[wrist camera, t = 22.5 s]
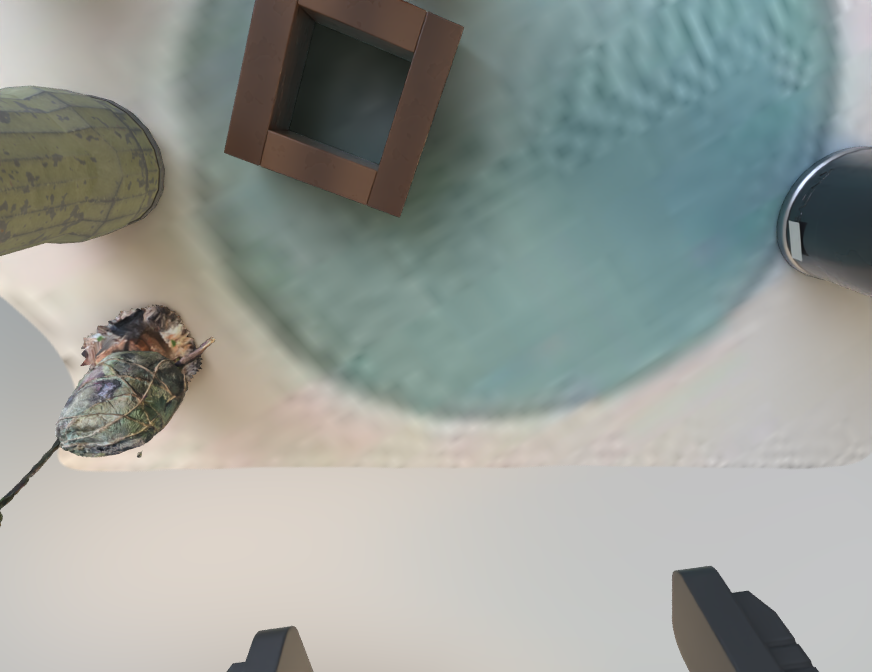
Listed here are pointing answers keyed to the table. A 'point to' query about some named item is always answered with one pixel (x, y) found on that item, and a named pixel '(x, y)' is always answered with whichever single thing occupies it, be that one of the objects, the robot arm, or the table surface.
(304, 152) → the holder
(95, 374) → the plant with pod
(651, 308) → the table surface
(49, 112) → the thermos
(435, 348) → the table surface
